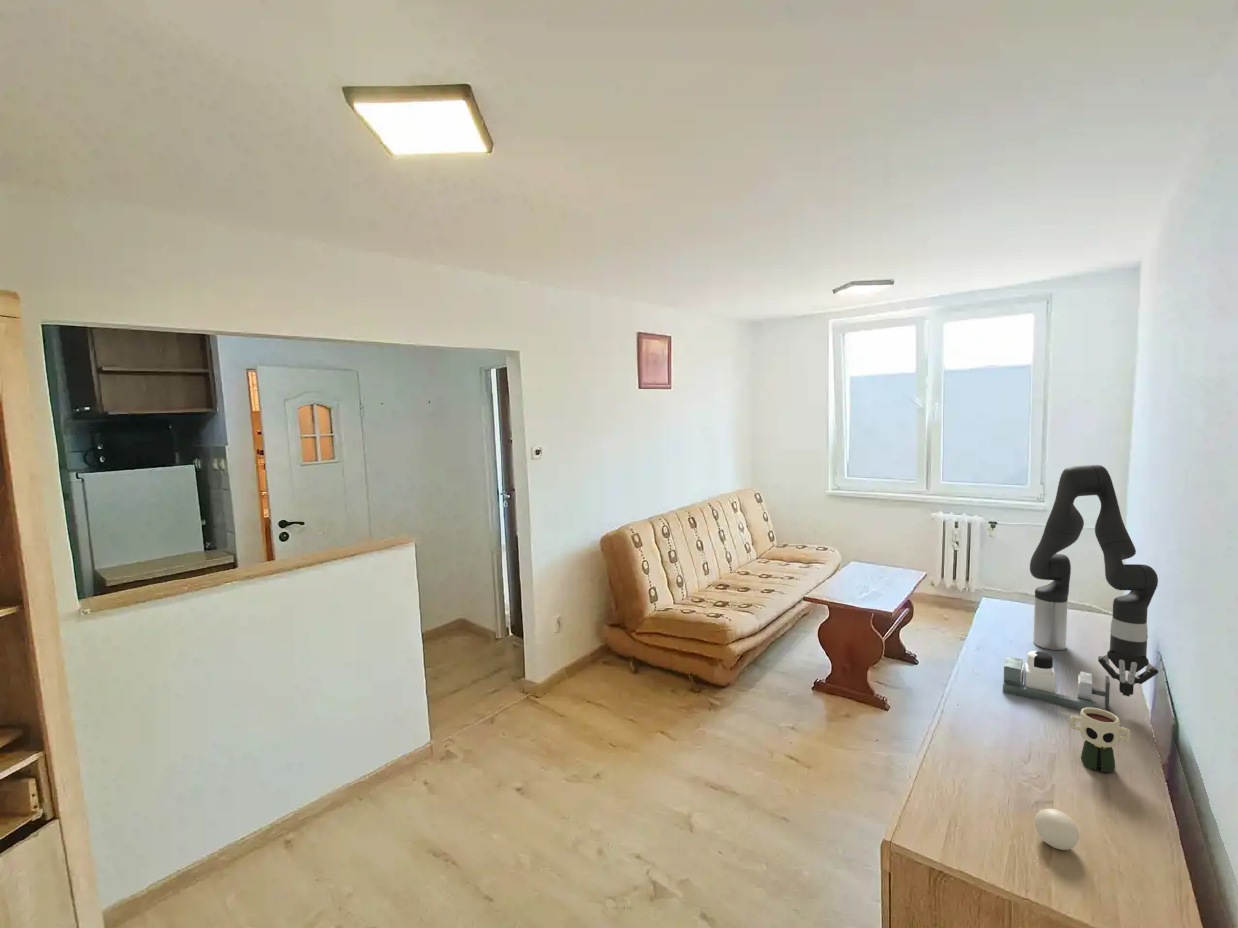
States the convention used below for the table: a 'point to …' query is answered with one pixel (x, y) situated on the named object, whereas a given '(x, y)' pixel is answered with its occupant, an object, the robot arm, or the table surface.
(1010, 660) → the vise bed
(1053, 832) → the white egg
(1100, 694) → the sliding jaw
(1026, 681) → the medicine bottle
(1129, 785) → the table surface
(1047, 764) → the table surface
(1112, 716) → the character mug
